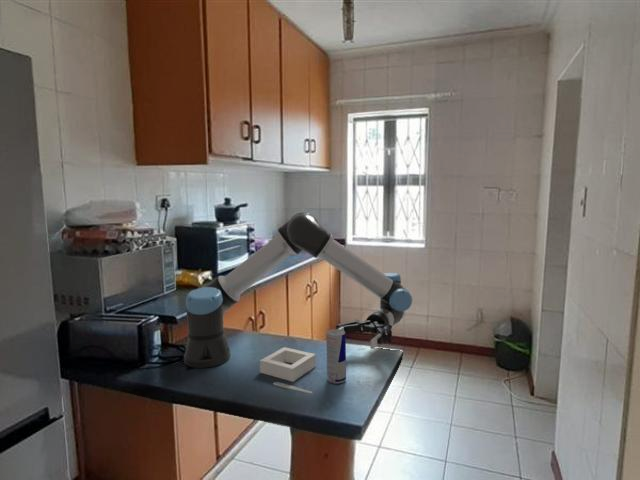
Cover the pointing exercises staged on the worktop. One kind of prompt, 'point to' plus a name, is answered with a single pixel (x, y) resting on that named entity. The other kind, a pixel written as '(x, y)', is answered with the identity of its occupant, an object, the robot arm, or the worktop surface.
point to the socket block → (279, 369)
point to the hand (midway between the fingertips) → (351, 340)
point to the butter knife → (290, 387)
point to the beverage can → (336, 356)
